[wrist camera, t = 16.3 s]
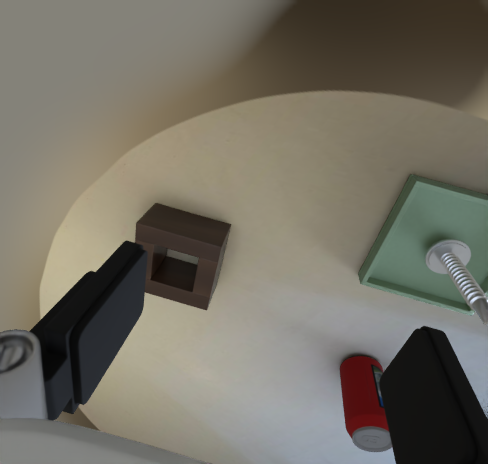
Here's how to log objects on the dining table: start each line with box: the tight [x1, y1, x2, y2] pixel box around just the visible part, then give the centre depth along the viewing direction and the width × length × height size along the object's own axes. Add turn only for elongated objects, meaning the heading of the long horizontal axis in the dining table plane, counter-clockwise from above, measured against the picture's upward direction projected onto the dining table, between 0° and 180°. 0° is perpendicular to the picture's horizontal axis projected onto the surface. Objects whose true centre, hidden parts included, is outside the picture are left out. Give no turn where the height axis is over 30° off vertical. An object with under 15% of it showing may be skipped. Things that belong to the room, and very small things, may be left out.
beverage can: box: [340, 356, 392, 452], centre depth 49 cm, size 7×7×12 cm
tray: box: [358, 174, 488, 316], centre depth 40 cm, size 15×15×2 cm
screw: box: [425, 239, 488, 326], centre depth 35 cm, size 13×5×5 cm
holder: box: [135, 203, 231, 310], centre depth 45 cm, size 11×11×6 cm
